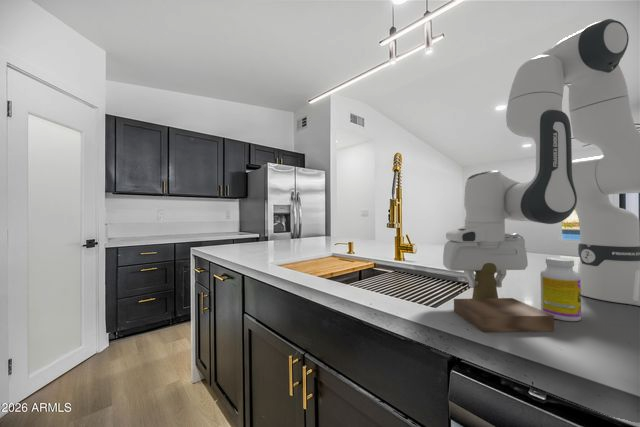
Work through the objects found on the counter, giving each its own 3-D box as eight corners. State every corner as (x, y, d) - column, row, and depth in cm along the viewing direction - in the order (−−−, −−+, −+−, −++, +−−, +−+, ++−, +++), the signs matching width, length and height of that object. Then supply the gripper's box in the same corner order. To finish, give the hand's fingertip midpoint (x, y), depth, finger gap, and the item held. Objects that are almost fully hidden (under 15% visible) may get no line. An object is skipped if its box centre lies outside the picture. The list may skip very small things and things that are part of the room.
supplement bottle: (585, 325, 54) (584, 262, 54) (544, 318, 58) (543, 260, 58) (576, 314, 60) (575, 258, 60) (538, 309, 63) (537, 255, 63)
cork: (504, 308, 64) (503, 263, 64) (476, 306, 66) (476, 262, 66) (493, 300, 70) (492, 259, 70) (468, 298, 71) (467, 258, 72)
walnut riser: (512, 310, 62) (512, 298, 62) (554, 331, 51) (553, 315, 51) (453, 311, 62) (453, 298, 62) (483, 332, 51) (482, 316, 51)
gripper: (514, 232, 71) (515, 283, 71) (439, 233, 71) (440, 284, 71) (534, 234, 65) (535, 290, 65) (451, 235, 65) (452, 291, 65)
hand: (485, 287), depth 68 cm, fingers closed on cork, 5 cm apart
